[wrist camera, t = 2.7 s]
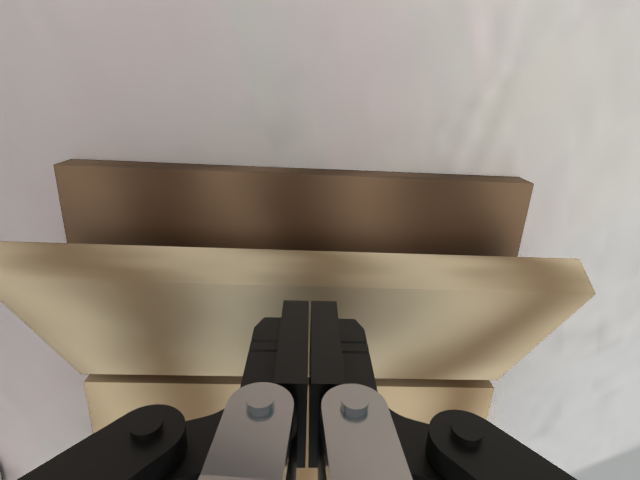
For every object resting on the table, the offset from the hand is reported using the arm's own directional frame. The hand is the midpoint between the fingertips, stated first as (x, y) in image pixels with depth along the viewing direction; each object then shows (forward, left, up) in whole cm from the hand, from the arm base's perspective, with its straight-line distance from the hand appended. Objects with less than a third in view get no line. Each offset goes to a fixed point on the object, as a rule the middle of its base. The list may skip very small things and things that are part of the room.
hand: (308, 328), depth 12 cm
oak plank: (0, -3, -6) cm, 7 cm away
